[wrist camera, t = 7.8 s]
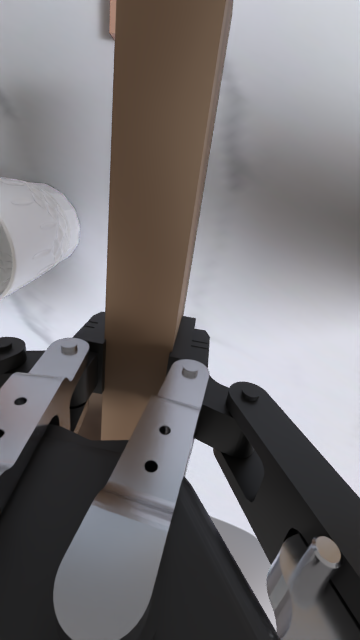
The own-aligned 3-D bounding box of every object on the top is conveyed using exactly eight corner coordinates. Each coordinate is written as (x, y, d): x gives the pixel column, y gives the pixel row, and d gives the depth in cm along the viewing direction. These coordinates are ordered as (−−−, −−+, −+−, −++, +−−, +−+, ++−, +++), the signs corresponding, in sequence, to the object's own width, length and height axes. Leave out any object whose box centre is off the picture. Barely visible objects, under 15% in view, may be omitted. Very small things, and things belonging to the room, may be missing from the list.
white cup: (35, 279, 28) (-52, 323, 19) (-15, 198, 26) (-143, 206, 17) (103, 249, 26) (41, 283, 17) (56, 157, 23) (-47, 141, 14)
